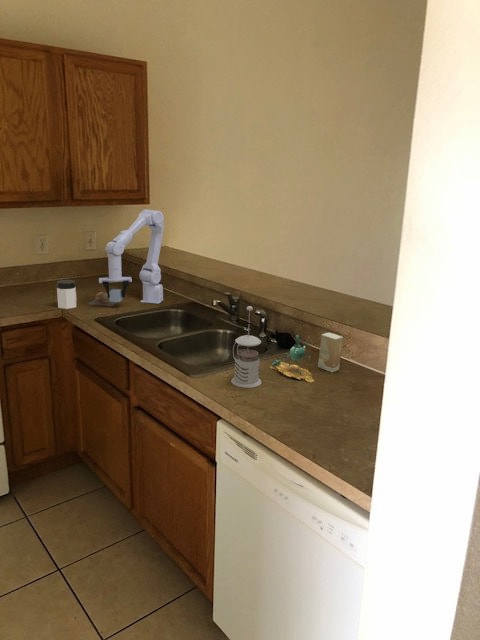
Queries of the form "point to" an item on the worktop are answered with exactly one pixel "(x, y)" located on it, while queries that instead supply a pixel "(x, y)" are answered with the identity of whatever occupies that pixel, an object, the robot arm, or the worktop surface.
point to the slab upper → (102, 296)
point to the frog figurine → (294, 370)
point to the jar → (66, 294)
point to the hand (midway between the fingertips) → (116, 297)
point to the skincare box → (330, 352)
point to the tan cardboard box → (103, 301)
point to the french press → (246, 361)
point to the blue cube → (115, 295)
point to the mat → (102, 303)
